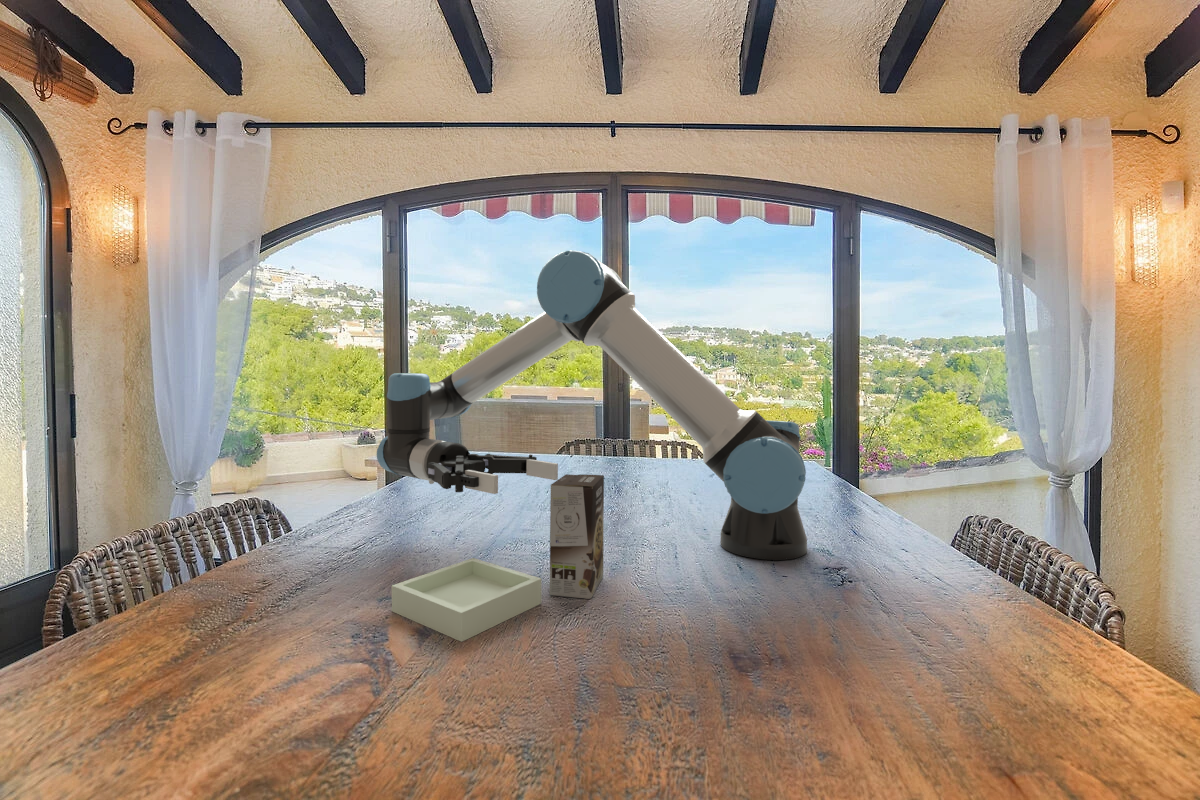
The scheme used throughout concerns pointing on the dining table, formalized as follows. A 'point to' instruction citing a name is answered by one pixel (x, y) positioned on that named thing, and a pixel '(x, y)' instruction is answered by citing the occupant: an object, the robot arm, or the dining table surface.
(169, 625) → the dining table surface
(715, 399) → the robot arm
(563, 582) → the coffee box
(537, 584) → the tray
